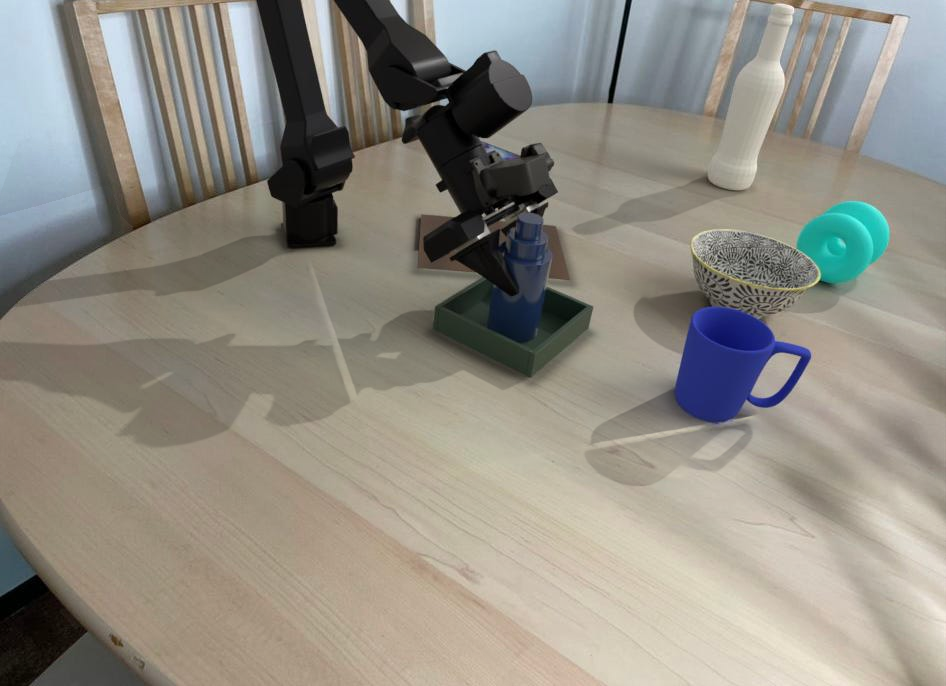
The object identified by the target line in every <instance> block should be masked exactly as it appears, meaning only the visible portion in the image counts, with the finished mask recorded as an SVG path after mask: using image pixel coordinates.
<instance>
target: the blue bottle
mask: <svg viewBox="0 0 946 686" xmlns="http://www.w3.org/2000/svg"><path fill="white" fill-rule="evenodd" d="M544 222H545V220H544V218H542V217H541V216H540V215H537V214H534V213H521V214H519V215H518V216H517V223H516V227H513V228H511V229H510V230H509V231H508V232H507V239H506V241H504V242H502V243H501V244H500V245H499V249H500V251H501V253H502V255H503V257H504V259H505V261H506V263H507V265H508V267H509V269H510V271H511V273H512V275H513V277H514V279H515V282H516V284H517V287H518V290H519V293H518V294H517V295H515V296H512V297H511V296H509V295H508V294H507V293H505V292H504V291H502V290H501V289H500V288H498V287H497V286H495V285H494V284H493V285H492V292H491V299H490V306H489V313H488V320H487V328H488V329H490V330H492V331H494V332H497V333H499V334H501V335H503V336H505V337H507V338H509V339H511V340H513V341H515V342H517V343H522V342H527V341H530V340H532V339H534V338H535V337H536V336H537V334H538V330H539V325H540V319H541V314H542V309H543V304H544V298H545V293H546V288H547V287H548V282H549V278H548V277H549V272H550V267H551V261H552V253H551V251H550V250H549V249H548V248H547V242H548V236H547V235H546V234H545V233H544V232H543V231H542V227H543V225H544Z"/></svg>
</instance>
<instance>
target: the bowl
mask: <svg viewBox="0 0 946 686" xmlns="http://www.w3.org/2000/svg"><path fill="white" fill-rule="evenodd" d="M689 247H690V252H691V256H692V257H691V258H692V269H693V274H694V275H693V276H694V279H695V282H696V284H697V287H698V288H699V290H700V291H701V293H702V294H703V295H704V296H705V297H706V298H707V299H708V300H709V304H710V305H711V307H726V308H731V309H736V310H739V311H742V312H745V313H747V314H750V315H752V316H754V317H756V318H757V319H759V320H761V318H763V317H767V316H772V315H775V314H778V313H781V312H783V311H785V310H786V309H788V308H790V307H791V306H793V305H794V304H795V303H796V302H797V301H798V300H799V299H801V297H802V296H803V295H804V294H806V292H808V290H810V289H811V288H812V287H814V286H815V285H816V284H817V283H819V281H820V280H819V279H820V277H821V273H820V270H819V268H818V266H817V265H816V264H815V263H814V262H813V261H812V260H811V259H810V258H809V257H808V256H807V255H805V254H804V253H802V252H801V251H799V250H798V249H796V247H794V246H793V245H791V244H788V243H786V242H784V241H781V240H778V239H776V238H773V237H770V236H767V235H764V234H761V233H757V232H751V231H747V230H741V229H731V228H715V229H714V228H713V229H708V230H704V231H701V232H699V233H697V234H696V235H694V236H693V237H692V239H691V240H690V244H689Z"/></svg>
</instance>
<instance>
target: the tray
mask: <svg viewBox="0 0 946 686" xmlns="http://www.w3.org/2000/svg"><path fill="white" fill-rule="evenodd" d="M492 285H493V284H492V283H491V282H490V281H488V280H487V279H485V278H484V277H482V276H481V277H480V278H479V279H477V280H475V281H474V282H472V283H470V284H469V285H467V286H465V287H463V288H462V289H460V290H459V291H458V292H456V293H453V295H451V296H449V297H448V298H445V299H444V300H443V301H441V302H440V303H438V304H437V305H434V312H433V313H434V314H433V325H432V330H434V331H436V332H438V333H440V334H442V335H444V336H446V337H448V338H450V339H452V340H454V341H456V342H458V343H460V344H462V345H463V346H466V347H468V348H470V349H472V350H474V351H476V352H478V353H480V354H482V355H484V356H486V357H488V358H490V359H493V360H494V361H496V362H498V363H500V364H502V365H504V366H505V367H508V368H511V369H512V370H514V371H516V372H518V373H520V374H522V375H525V376H526V377H528V378H533V377H534V376H535V375H536V374H537V373H538V372H539V371H541V370H542V369H543V368H544V367H545V366H547V365H548V364H549V363H550V362H551V361H552V360H553V359H555V358H556V357H557V356H558V355H559V354H560V353H562V352H563V351H564V350H565V349H566V348H567V347H569V346H570V345H571V344H572V343H573V342H575V341H576V340H577V339H578V338H579V337H581V335H583V334H584V333H585V332H586V331H587V330H589V328H590V324H591V319H592V315H593V311H594V305H591V304H589V303H586V302H584V301H582V300H579V299H577V298H575V297H573V296H570V295H568V294H565V293H564V292H561V291H559V290H556V289H554V288H552V287H550V286H547V288H546V293H545V298H544V304H543V309H542V314H541V319H540V325H539V330H538V334H537V336H536V337H535V338H534V339H532V340H530V341H527V342H522V343H517V342H515V341H513V340H511V339H509V338H507V337H505V336H503V335H501V334H499V333H497V332H494V331H492V330H490V329H488V328H487V320H488V313H489V306H490V299H491V292H492Z"/></svg>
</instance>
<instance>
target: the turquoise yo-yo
mask: <svg viewBox="0 0 946 686" xmlns="http://www.w3.org/2000/svg"><path fill="white" fill-rule="evenodd" d="M889 242H890V226H889V224H888V221H887V219H886V217H885V216H884V215H883V214H882V212H881V211H880V210H879V209H877V208H876V207H875V206H873V205H871V204H869V203H866V202H863V201H858V200H847V201H842V202H839V203H836V204H834V205H832V206H831V207H829V208H828V209H827V210H825V211H824V212H823V214H821V215H818V216H815V217H814V218H812V219H811V220H810V221H808V222H807V223H806V224H805V225H804V226H803V228H802V229H801V231H800V232H799V234H798V236H797V240H796V246H795V248H796V249H798V250H799V251H801V252H802V253H804V254H805V255H807V256H808V257H809V258H810V259H811V260H812V261H813V262H814V263H815V264H816V265H817V266H818V268H819V270H820V273H821V277H820V279H819V281H821V282H824V283H828V284H843V283H847V282H849V281H852V280H855V279H856V278H858V277H859V276H860V275H861V274H863V273H864V272H865V271H866V269H868V267H869V266H870V265H872V264H874V263H875V262H876V261H878V260H879V259H880V258H881V257H882V256H883V254H884V253H885V252H886V250H887V248H888V245H889Z"/></svg>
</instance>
